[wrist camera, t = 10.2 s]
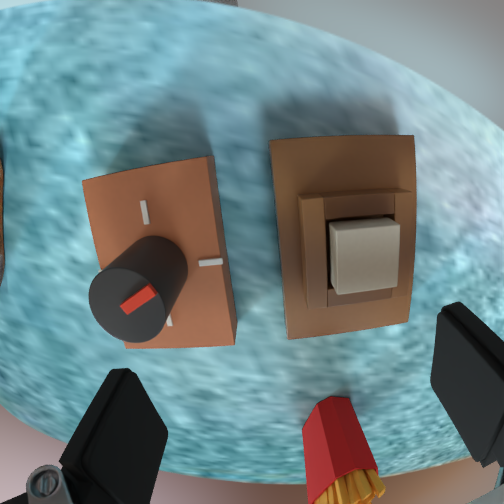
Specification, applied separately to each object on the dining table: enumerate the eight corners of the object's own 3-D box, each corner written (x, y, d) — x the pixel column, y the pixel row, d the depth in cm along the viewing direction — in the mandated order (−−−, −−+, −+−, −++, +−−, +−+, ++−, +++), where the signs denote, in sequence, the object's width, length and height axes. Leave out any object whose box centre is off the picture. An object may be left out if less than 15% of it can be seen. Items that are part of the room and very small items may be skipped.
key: (328, 222, 17) (335, 230, 15) (388, 216, 17) (400, 224, 15) (330, 282, 18) (337, 295, 16) (386, 275, 18) (397, 287, 16)
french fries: (328, 443, 28) (346, 538, 17) (293, 440, 28) (303, 541, 16) (364, 388, 25) (402, 496, 14) (325, 384, 25) (353, 502, 14)
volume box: (101, 175, 20) (78, 181, 17) (215, 155, 19) (207, 156, 16) (137, 327, 23) (123, 350, 20) (238, 321, 23) (236, 346, 20)
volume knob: (153, 307, 19) (124, 358, 14) (114, 258, 18) (71, 297, 13) (201, 275, 19) (181, 324, 13) (160, 222, 18) (123, 252, 12)
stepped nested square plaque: (268, 141, 19) (270, 139, 15) (399, 135, 18) (428, 135, 15) (285, 323, 23) (289, 355, 19) (397, 308, 23) (418, 335, 19)
